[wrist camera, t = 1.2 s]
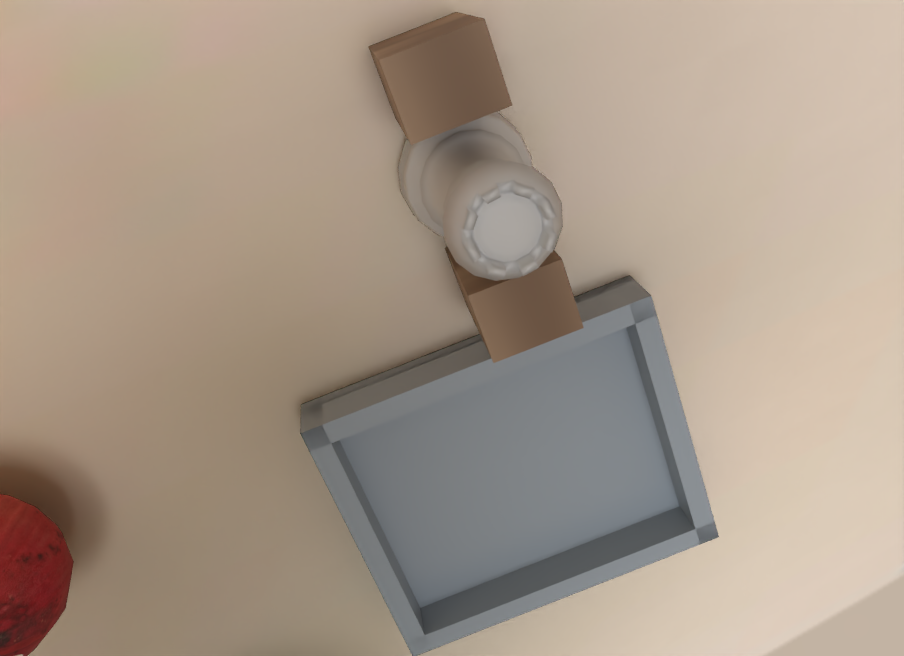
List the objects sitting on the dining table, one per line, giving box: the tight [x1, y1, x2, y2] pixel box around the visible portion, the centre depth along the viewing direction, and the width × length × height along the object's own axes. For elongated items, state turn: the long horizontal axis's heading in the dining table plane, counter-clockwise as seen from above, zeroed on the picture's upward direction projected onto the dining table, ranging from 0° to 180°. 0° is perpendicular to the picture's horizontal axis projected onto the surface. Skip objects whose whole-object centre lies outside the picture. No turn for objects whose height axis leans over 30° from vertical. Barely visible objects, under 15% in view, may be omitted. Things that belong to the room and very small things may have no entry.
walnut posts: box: [369, 12, 584, 363], centre depth 27 cm, size 3×10×5 cm, turn 20°
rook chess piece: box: [398, 112, 563, 281], centre depth 26 cm, size 4×4×8 cm
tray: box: [300, 276, 719, 656], centre depth 33 cm, size 13×11×2 cm
